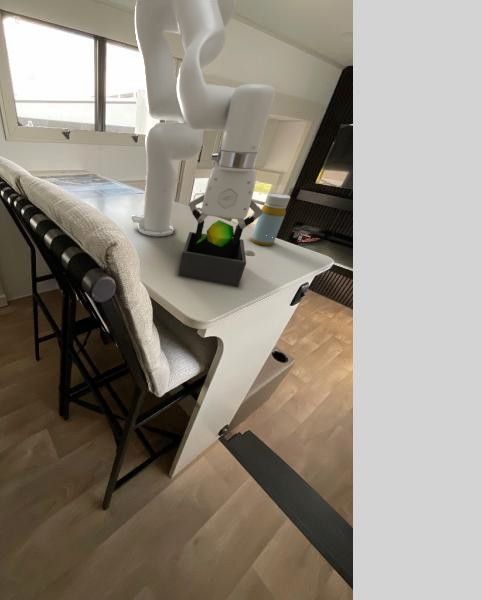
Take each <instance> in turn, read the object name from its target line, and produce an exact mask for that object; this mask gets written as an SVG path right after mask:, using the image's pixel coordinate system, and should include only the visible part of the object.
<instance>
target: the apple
mask: <svg viewBox="0 0 482 600" xmlns="http://www.w3.org/2000/svg"><path fill="white" fill-rule="evenodd" d="M234 232H235V229H234V226H233V225H231V224H229V223H228V222H225V221H223V220H220V219H218V220H216V221H215V222H213V223H211V225H210V226H209V228H207V230H206V234H207V235H202V236H201V239H199V240H198V242H200V241H202V240H204V239H205V238H206V237H207V239H208V241H209V242H211V243H213V244H215V245H218V246H220V247H222V246H224V245H225V244H226V243H228V242H229V241H230V240H231V239H232V238H233V237H234ZM198 242H197V243H198Z"/></svg>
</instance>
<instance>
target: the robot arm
mask: <svg viewBox="0 0 482 600" xmlns="http://www.w3.org/2000/svg"><path fill="white" fill-rule="evenodd" d="M236 5H237V0H135V10H134V28H135V36H136V41H137V46H138V50H139V53H140V57H141V61H142V68H143V80H144V90H145V91H144V92H145V101H146V108H147V112H148V115H149V116H150V117H151V118H152V119H154V120H158V121H164V122H157V123H154V124H153V125H151V126H150V127H149V128H148V129H147V131H146V134H145V141H144V144H145V157H146V160H145V161H146V169H145V170H146V172H145V174H146V175H145V188H144V203H143V215H140V216H139V215H134V214H132V215H131V221H132V223H135V224H138V225H137V230H138V231H139V233H141V234H143V235H146V236H150V237H159V238H160V237H167V236H170V235H172V234H173V233H174V230H175V229H174V227H173V225H171V219H172V211H173V203H174V196H175V189H176V182H177V174H176V170H175V168H174V166H173V163H172V162H174V161H190V160H194V159H196V158H197V157H198V156H199V154H200V153H201V150H202V147H203V143H204V142H203V140H204V131H216V132H223V135H222V140H221V145H220V151H218V152H215V153H214V152H213V153H212V154H211V159H210V161H214V162H215V163H216V165H214V166H213V167H212V169H211V171H210V174H209V177H208V180H207V184H206V187H205V192H204V194H202V195H200V196H198V197H196V198H194V199H192V200H191V201H189V202H188V207H189V209H190V211H191V213H192V216H193V217H194V219H195V220H196V222H197V226H196V231H195V233H196V234H199V235H198V239H201V235H202V234H203V229H204V224H205V219H206V218H207V217H209V216H210V217H217V218H223V219H233V220H237V224H236V226H235V229H234V237H233V239H232V242H233V244H236V241H237V240H240V239H241V237H242V234H243V231H244V229H245V228H246V227H247V226H248V227H249V225H251V224H253V223H254V222H255V221H257V220H258V218H259V216H261V215H262V214H263V211H262V210H261V209H262V208H261V207H259V206H258V204H256V202H255V201H254V200H253V195H254V191H255V187H256V181H257V175H258V170H257V169H254V168H255V165H256V162H257V160H258V159H257V158H258V155H259V151H260V148H261V144H262V141H263V138H264V135H265V131H266V127H267V124H268V120H269V118H270V113H271V110H272V107H273V104H274V100H275V96H276V90H275V88H274V86H273V85H270V84H266V83H245V84H241V85H239V86H237V87H234V86H227V85H219V84H211V83H209V84H208V83H206V81H205V78H204V74H203V72H202V70H203V69H204V68H206V67H207V66H209V65H210V64H212V63H213V62H214V61H215V60H216V59H217V58H218V56H219V55H220V53H221V52H222V50H223V48H224V46H225V42H226V39H227V32H226V27H227V26H228V25H229V23H230V21H231V20H232V18H233V16H234V14H235V13H234V12H235V10H236ZM164 32H167V33H172V34H177V35H179V37H180V40H181V45H182V48H183V51H184V56H183V58H182V60H181V62H180V65H179V69H178V73H177V75H176V70H175V69H176V68H175V57H174V54H173V53H174V52H173V50H172V48H171V46H170V43H169V42H168V40H167V38H166V36H165V35H164ZM168 121H173V122H168ZM199 204H201V212H200V211H199V210H198V208H197V206H198V205H199ZM250 209H251V211H253V213H252V214H251V215H249V216H248V213H249V210H250Z"/></svg>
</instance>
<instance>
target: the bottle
mask: <svg viewBox="0 0 482 600" xmlns="http://www.w3.org/2000/svg"><path fill="white" fill-rule="evenodd" d="M290 200H291V196H290V195H288V194H285V193H279V192H269V193H268V194H267V196H266V199H265V202H264V205H263V206H262V208H260V209H261V210H262V211H263V214H262V215H261V216H259V217H258V218H257V219H256V223H255V226H254V230H253V232H252V235H251V241H252V242H253V243H254V244H256V245H259V246H264V247H265V246H267V247H268V246H272V245H273V244H275V241H276V239H275V238H277V236H278V234H279V231H280V228H281V226H282V224H283V221H284V219H285V216H286V211H287V207H288V205H289V202H290ZM266 235H267V236H266ZM272 237H273V238H272Z"/></svg>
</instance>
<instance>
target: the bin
mask: <svg viewBox="0 0 482 600" xmlns="http://www.w3.org/2000/svg"><path fill="white" fill-rule="evenodd" d="M198 235H199V234H196V232H194V231H193V232H192V231H189V232H188V235H187V238H186V240H185V244H184V245H183V246H184V247H183V249H182V251H181V252H182V253H181V257H180V263H179V269H178V273H177V274H178V275H177V276H178V277H183V278H188V279H195V280H198V281H199V280H200V281H204V282H210V283H215V284H220V285H226V286H230V287H231V286H232V287H235V288H236V287H237V288H238V287H239V285H240V282H241V280H242V277H243V274H244V271H245V269H246V265H247V256H246V251H245V242H244V239H241V238H240V240H237V241H236V244H233V242H232V239H233V238H232V239H231V240H230V241H229V242H228V243H226V244H225V245H224V246H222V247H220V246H218V245H215V244H213V243H211V242H209V241H208V239H207V237H206V238H205V239H204V240H202V241H200V242H198V240H199V239H198ZM202 235H207V233H202ZM202 235H201V236H202ZM197 242H198V243H197Z"/></svg>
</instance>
